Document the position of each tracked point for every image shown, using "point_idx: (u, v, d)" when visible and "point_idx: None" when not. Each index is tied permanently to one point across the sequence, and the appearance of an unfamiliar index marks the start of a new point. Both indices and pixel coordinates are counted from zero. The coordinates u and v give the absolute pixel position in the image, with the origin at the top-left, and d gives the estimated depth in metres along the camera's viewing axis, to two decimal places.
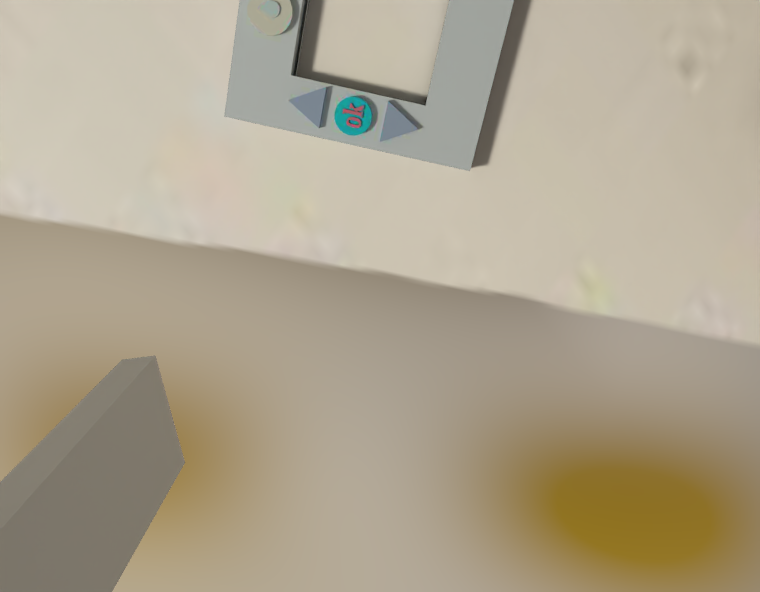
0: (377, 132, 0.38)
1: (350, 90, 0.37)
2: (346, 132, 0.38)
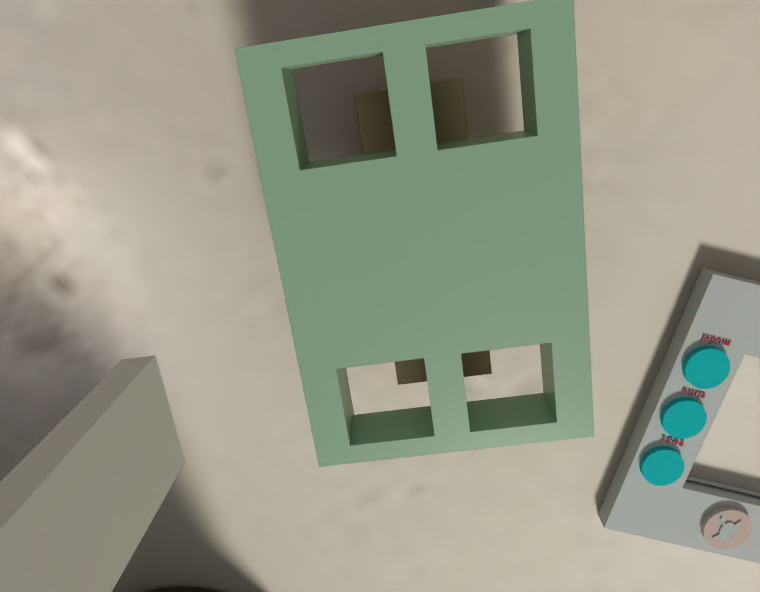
0: None
1: None
2: None
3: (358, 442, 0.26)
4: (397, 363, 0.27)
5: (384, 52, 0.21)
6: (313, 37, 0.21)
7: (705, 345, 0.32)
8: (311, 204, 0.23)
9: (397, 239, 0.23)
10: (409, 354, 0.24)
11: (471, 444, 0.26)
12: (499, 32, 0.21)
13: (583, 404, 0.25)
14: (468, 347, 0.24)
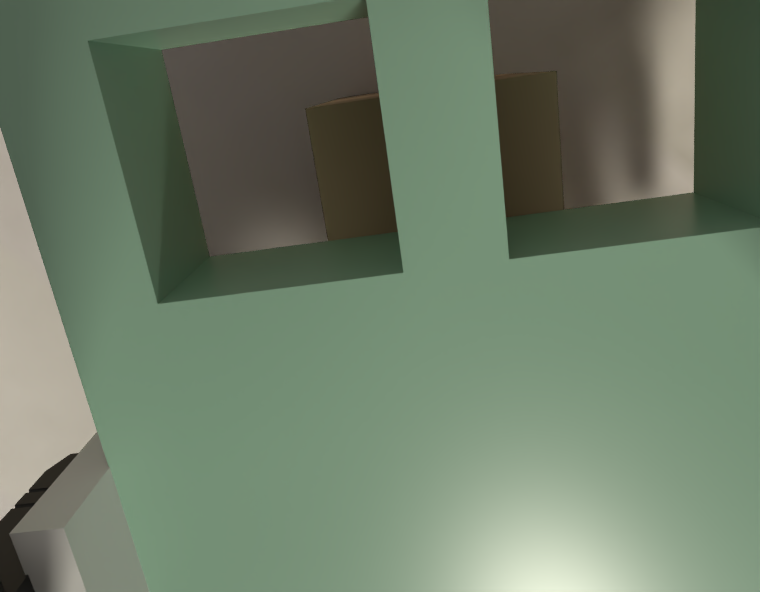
0: None
1: None
2: None
3: None
4: None
5: None
6: None
7: None
8: (192, 382, 0.09)
9: (403, 464, 0.09)
10: None
11: None
12: None
13: None
14: None
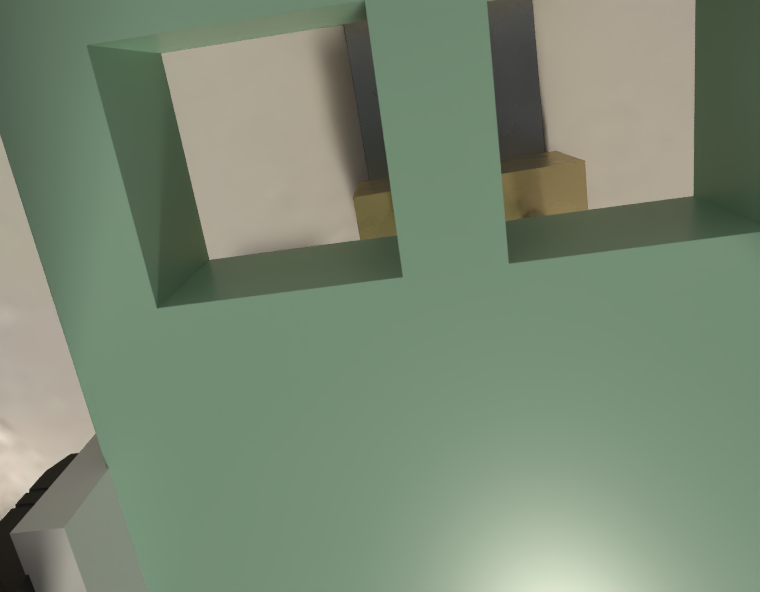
0: None
1: None
2: None
3: None
4: None
5: (370, 2, 0.07)
6: None
7: None
8: (191, 386, 0.09)
9: (402, 468, 0.09)
10: None
11: None
12: None
13: None
14: None
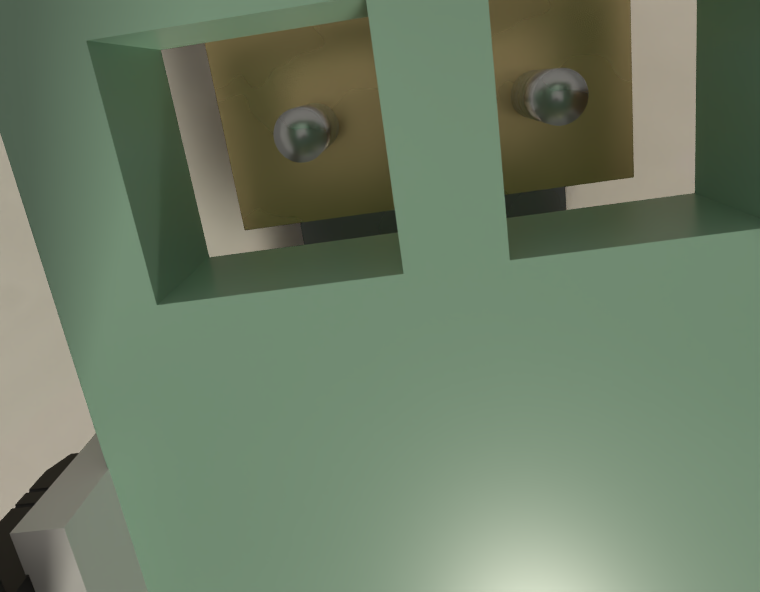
0: None
1: None
2: None
3: None
4: None
5: None
6: None
7: None
8: (191, 384, 0.09)
9: (403, 465, 0.09)
10: None
11: None
12: None
13: None
14: None
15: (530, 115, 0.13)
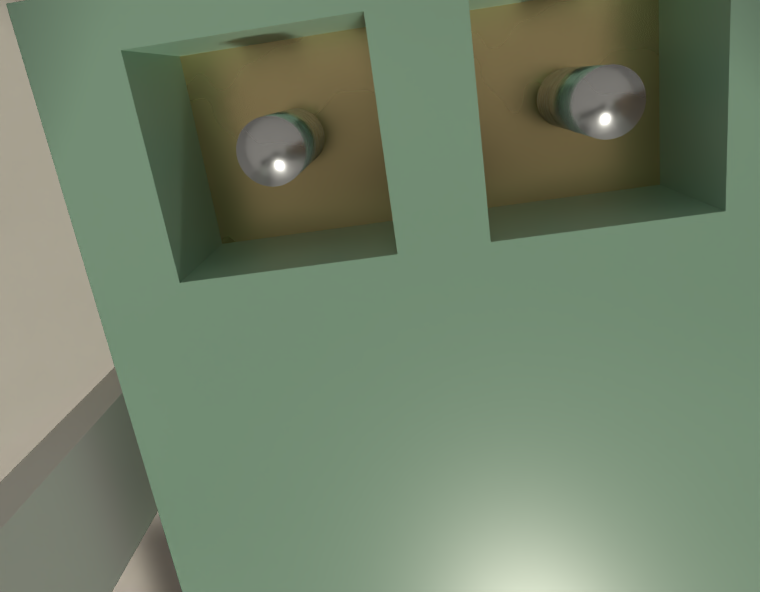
0: None
1: None
2: None
3: None
4: None
5: (368, 13, 0.09)
6: None
7: None
8: (209, 353, 0.10)
9: (398, 426, 0.11)
10: None
11: None
12: None
13: None
14: None
15: (566, 125, 0.10)
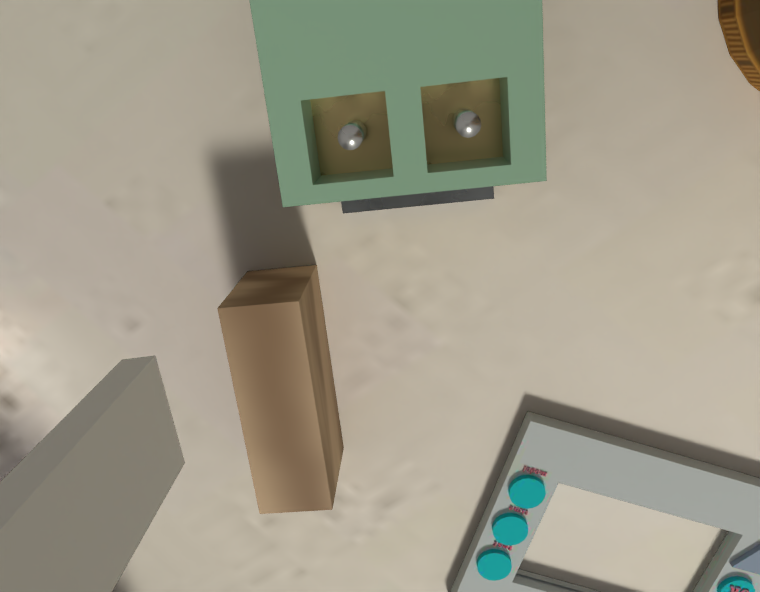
0: (755, 573, 0.41)
1: (711, 589, 0.41)
2: None
3: (321, 183, 0.27)
4: (258, 498, 0.35)
5: None
6: None
7: (526, 474, 0.39)
8: None
9: None
10: (371, 86, 0.25)
11: (428, 186, 0.27)
12: None
13: (536, 145, 0.26)
14: (427, 80, 0.25)
15: None
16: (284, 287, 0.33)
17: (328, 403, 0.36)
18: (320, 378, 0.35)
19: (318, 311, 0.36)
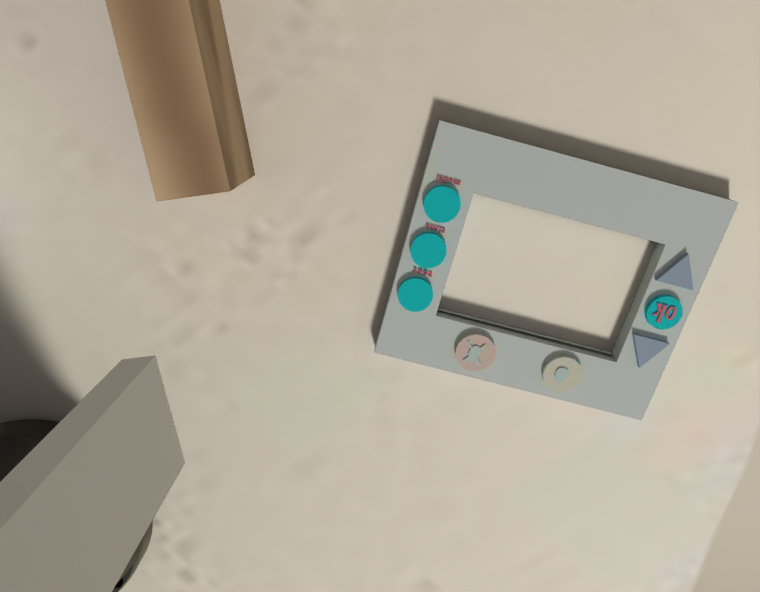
0: (681, 290, 0.40)
1: (638, 312, 0.40)
2: (678, 319, 0.40)
3: None
4: (153, 182, 0.34)
5: None
6: None
7: (440, 184, 0.38)
8: None
9: None
10: None
11: None
12: None
13: None
14: None
15: None
16: None
17: (227, 98, 0.35)
18: (213, 56, 0.34)
19: None
